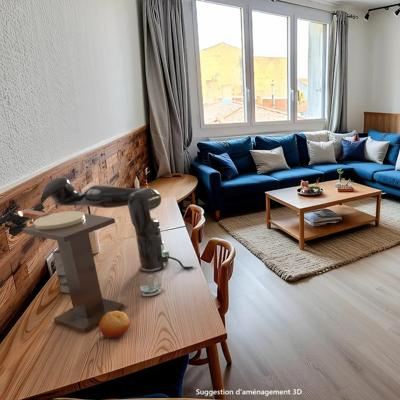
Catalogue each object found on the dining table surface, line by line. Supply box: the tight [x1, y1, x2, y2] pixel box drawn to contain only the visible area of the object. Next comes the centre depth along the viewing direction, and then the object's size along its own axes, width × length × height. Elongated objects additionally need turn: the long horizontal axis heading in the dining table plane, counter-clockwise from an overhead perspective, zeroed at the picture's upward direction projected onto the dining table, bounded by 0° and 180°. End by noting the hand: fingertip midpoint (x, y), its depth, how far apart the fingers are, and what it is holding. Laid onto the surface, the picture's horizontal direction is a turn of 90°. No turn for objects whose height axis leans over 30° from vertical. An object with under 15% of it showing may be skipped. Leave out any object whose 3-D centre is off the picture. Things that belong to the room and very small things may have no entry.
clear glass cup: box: [139, 275, 163, 297], centre depth 124 cm, size 7×6×6 cm
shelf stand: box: [22, 213, 125, 334], centre depth 108 cm, size 18×16×32 cm
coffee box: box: [51, 248, 70, 294], centre depth 127 cm, size 9×6×16 cm
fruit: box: [98, 310, 131, 340], centre depth 102 cm, size 8×8×8 cm
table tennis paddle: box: [17, 209, 86, 229], centre depth 107 cm, size 25×13×2 cm, turn 67°
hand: (27, 209), depth 110 cm, fingers open, 8 cm apart
